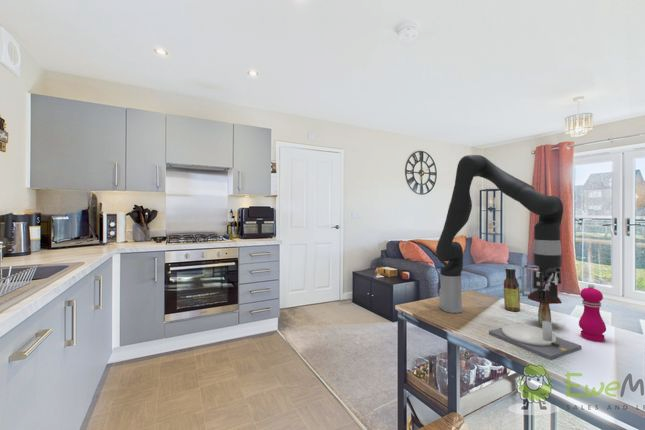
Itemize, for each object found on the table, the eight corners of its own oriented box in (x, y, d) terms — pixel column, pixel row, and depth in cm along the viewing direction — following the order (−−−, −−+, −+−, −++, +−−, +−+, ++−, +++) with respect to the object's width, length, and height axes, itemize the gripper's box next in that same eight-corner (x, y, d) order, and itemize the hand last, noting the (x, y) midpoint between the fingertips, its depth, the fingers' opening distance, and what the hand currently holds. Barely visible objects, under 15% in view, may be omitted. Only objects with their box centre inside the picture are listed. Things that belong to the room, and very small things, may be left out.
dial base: (489, 334, 107) (488, 330, 107) (517, 326, 113) (517, 323, 113) (550, 360, 87) (550, 355, 87) (581, 349, 94) (581, 345, 94)
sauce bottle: (522, 312, 129) (521, 269, 129) (507, 311, 130) (506, 269, 130) (516, 307, 135) (514, 267, 135) (501, 307, 137) (500, 267, 137)
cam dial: (492, 331, 106) (491, 312, 106) (519, 324, 112) (519, 306, 112) (543, 352, 90) (542, 330, 90) (572, 342, 96) (572, 322, 96)
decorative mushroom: (550, 321, 118) (549, 286, 118) (569, 331, 107) (568, 293, 107) (522, 320, 120) (521, 285, 120) (538, 330, 109) (537, 292, 109)
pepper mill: (573, 334, 105) (572, 282, 105) (591, 333, 106) (589, 281, 106) (593, 343, 98) (592, 287, 98) (612, 341, 98) (611, 286, 98)
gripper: (550, 256, 89) (551, 305, 89) (569, 252, 96) (570, 298, 96) (524, 253, 96) (525, 299, 96) (544, 249, 103) (544, 293, 103)
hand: (547, 298), depth 96 cm, fingers open, 8 cm apart
